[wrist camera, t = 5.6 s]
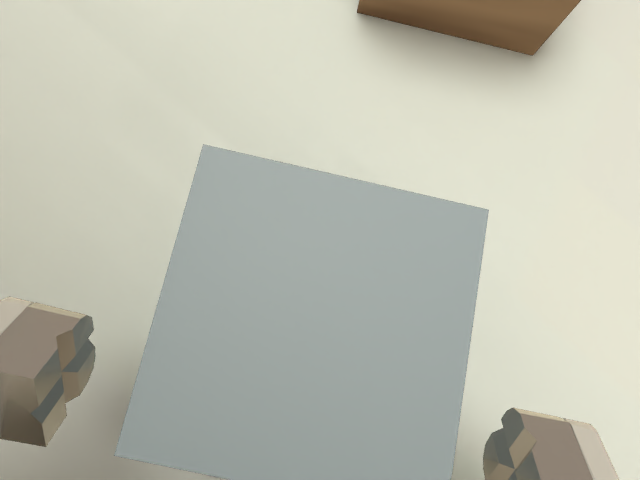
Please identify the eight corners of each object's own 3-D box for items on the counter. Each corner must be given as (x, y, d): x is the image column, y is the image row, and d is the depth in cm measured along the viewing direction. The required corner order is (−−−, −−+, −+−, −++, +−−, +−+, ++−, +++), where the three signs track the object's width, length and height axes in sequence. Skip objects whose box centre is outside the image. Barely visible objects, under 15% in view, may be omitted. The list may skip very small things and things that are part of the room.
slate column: (351, 417, 15) (444, 524, 6) (212, 388, 15) (114, 455, 6) (376, 280, 16) (489, 210, 7) (246, 251, 16) (202, 143, 7)
